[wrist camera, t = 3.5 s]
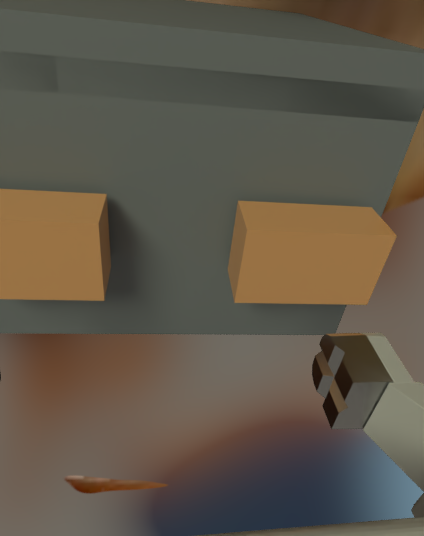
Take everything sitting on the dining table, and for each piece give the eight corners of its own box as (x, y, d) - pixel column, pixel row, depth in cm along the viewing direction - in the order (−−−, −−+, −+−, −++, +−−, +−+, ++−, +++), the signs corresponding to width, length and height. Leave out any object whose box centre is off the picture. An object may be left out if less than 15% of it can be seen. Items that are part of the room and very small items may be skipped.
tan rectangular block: (317, 223, 20) (366, 304, 15) (217, 219, 19) (234, 302, 14) (335, 165, 18) (396, 235, 13) (224, 158, 17) (247, 229, 12)
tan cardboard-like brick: (120, 215, 18) (104, 300, 14) (6, 210, 18) (-55, 298, 13) (118, 151, 17) (98, 223, 12) (-10, 143, 16) (-86, 216, 11)
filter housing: (266, 187, 32) (334, 334, 19) (61, 176, 30) (-21, 333, 17) (299, 13, 25) (444, 55, 12) (36, -17, 23) (-137, -6, 10)
